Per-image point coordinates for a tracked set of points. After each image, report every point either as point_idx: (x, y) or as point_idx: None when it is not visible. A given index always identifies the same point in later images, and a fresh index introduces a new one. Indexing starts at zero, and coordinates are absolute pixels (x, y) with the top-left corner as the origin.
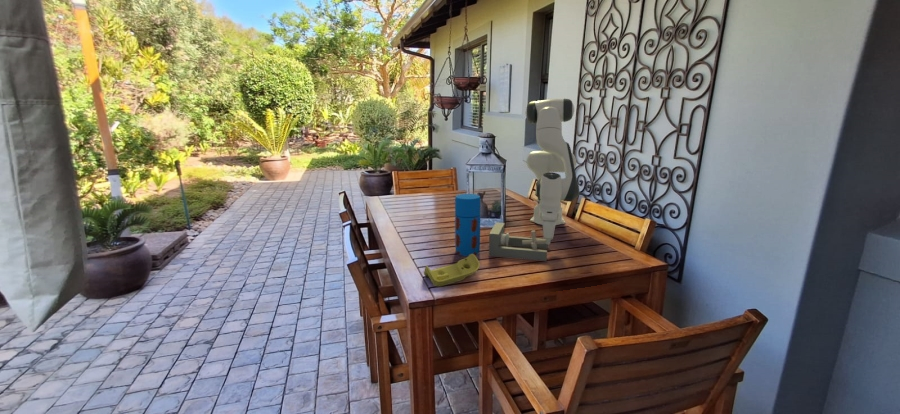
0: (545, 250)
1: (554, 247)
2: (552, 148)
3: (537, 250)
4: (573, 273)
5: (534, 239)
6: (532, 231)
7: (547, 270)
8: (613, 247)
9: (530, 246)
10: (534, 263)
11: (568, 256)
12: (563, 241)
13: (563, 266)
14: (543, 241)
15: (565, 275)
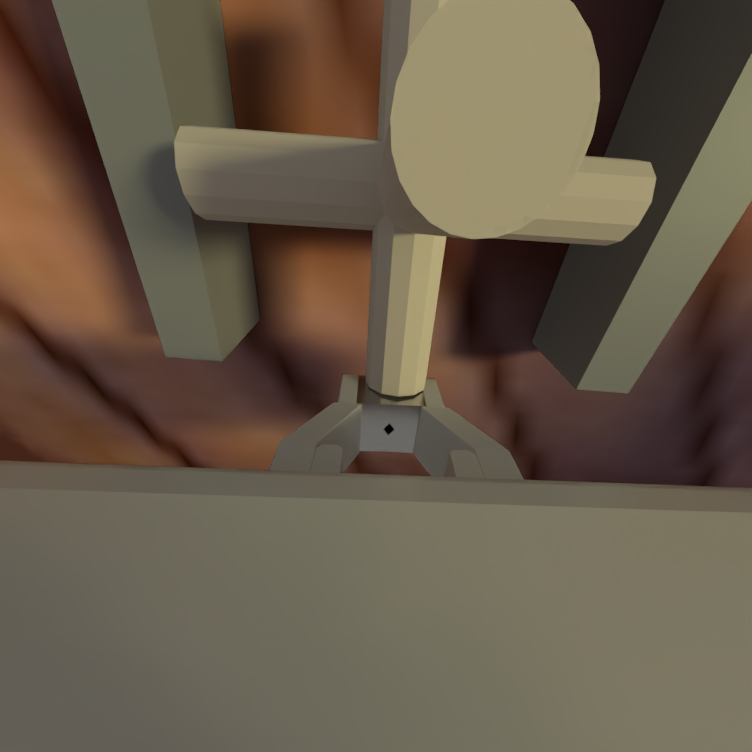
0: (210, 344)
1: (566, 393)
2: None
3: (160, 243)
4: (91, 458)
5: (380, 195)
6: (414, 68)
7: (16, 315)
8: None
9: (617, 141)
10: (99, 195)
11: (372, 459)
12: (693, 456)
13: (172, 420)
14: (370, 353)
15: (23, 420)
